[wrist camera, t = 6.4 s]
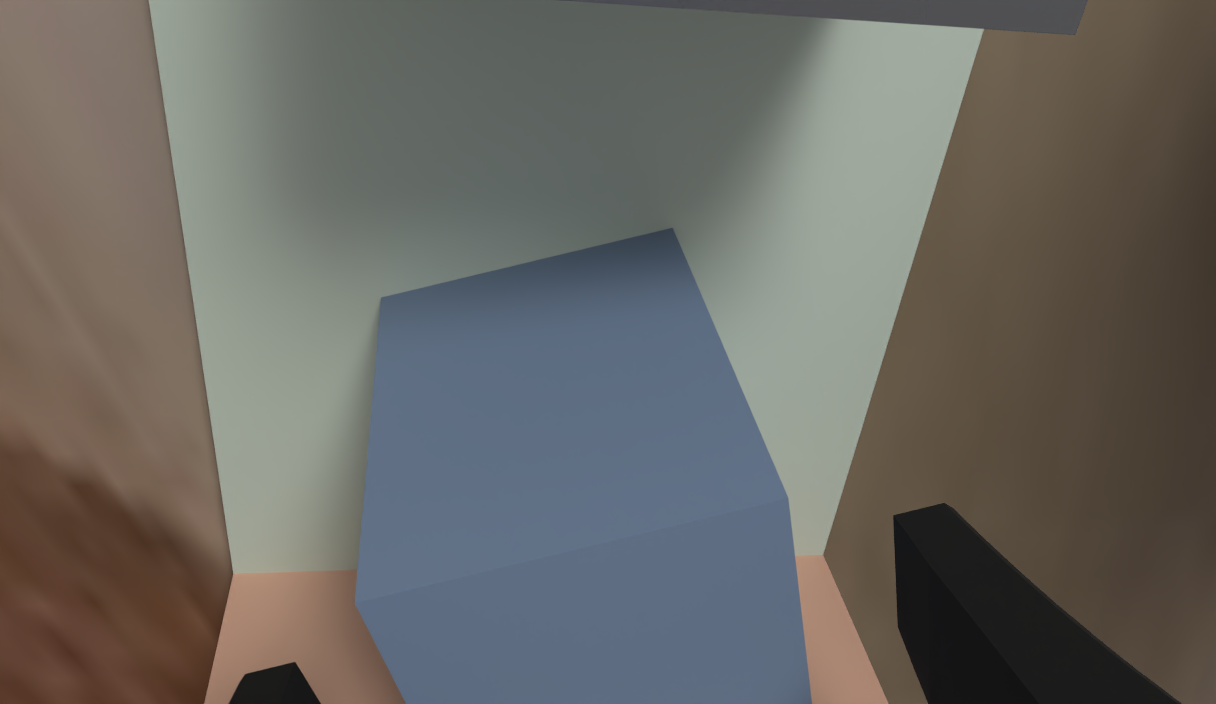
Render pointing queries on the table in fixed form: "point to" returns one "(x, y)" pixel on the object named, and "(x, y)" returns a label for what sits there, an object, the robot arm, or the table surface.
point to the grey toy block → (905, 11)
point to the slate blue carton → (574, 494)
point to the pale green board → (529, 244)
